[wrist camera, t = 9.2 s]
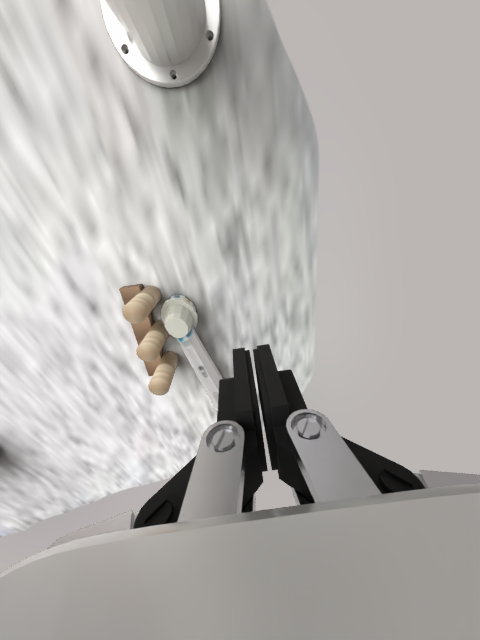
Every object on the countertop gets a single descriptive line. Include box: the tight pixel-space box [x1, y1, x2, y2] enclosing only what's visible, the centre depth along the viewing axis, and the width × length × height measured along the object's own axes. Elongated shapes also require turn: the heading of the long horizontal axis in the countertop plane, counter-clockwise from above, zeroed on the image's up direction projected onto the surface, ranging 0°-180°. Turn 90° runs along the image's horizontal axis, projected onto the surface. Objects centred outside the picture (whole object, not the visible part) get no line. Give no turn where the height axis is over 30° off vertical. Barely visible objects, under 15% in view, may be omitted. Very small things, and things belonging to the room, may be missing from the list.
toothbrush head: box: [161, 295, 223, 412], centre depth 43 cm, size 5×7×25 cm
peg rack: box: [119, 284, 179, 395], centre depth 38 cm, size 16×6×8 cm, turn 8°
